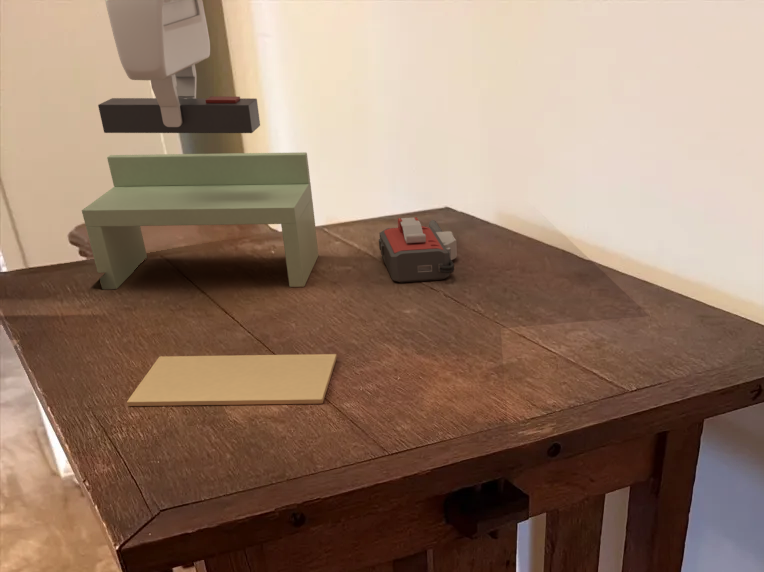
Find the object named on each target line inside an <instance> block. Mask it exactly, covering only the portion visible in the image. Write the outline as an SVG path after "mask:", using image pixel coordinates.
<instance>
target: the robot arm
mask: <svg viewBox="0 0 764 572" xmlns="http://www.w3.org/2000/svg"><path fill="white" fill-rule="evenodd" d="M104 1H105V6H106V11H107V15H108V19H109V24H110V28H111V31H112V37H113V39H114V43H115V47H116V51H117V55H118V57H119V61H120V64H121V66H122V68H123V70H124V72H125V74H126V76H127V78H128V79H129V80H132V81H150V85H151V90H152V91H153V94H154V98H156V99H157V101H158V104H159V106H160V108H161V114H162V119H163V123H164V125H165V126H167V127H179V126H181V125H182V124H183V123H184V116H183V109H182V105H180V103H179V99H178V98H197V79H198V78H197V69H196V65H197V64H199V63H200V62H202V61H205V60H206V59H209V57H210V56H211V41H210V35H209V29H208V23H207V17H206V12H205V8H204V0H104Z"/></svg>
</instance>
